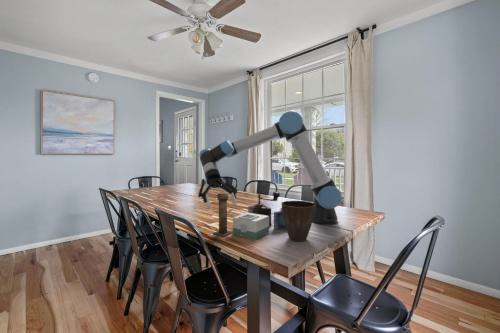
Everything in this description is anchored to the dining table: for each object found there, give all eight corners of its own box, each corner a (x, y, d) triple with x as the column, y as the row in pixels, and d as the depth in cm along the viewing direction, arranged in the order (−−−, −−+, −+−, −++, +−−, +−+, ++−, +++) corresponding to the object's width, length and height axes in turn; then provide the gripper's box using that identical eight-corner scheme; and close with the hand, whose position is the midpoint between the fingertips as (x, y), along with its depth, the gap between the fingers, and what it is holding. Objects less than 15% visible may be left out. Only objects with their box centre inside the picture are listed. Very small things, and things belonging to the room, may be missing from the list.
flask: (274, 230, 123) (274, 209, 122) (272, 228, 126) (272, 207, 125) (291, 228, 126) (291, 207, 125) (288, 226, 129) (288, 206, 128)
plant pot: (291, 231, 121) (291, 199, 120) (320, 237, 111) (320, 203, 110) (274, 239, 109) (275, 204, 108) (305, 247, 100) (305, 208, 99)
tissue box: (269, 232, 120) (269, 214, 119) (255, 239, 109) (255, 220, 109) (247, 227, 127) (247, 211, 126) (232, 234, 116) (232, 216, 116)
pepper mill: (253, 228, 126) (253, 193, 126) (247, 222, 137) (247, 190, 136) (281, 225, 131) (281, 192, 130) (273, 220, 142) (273, 189, 141)
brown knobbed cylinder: (230, 231, 118) (230, 194, 118) (223, 234, 114) (223, 195, 113) (222, 229, 121) (222, 193, 121) (215, 232, 117) (215, 194, 116)
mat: (233, 232, 119) (233, 231, 119) (223, 236, 113) (223, 235, 113) (222, 230, 123) (222, 229, 123) (212, 234, 117) (212, 232, 117)
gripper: (231, 176, 138) (243, 207, 125) (187, 178, 126) (195, 213, 113) (235, 167, 133) (248, 199, 120) (189, 168, 121) (198, 204, 109)
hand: (222, 206), depth 117 cm, fingers open, 13 cm apart
